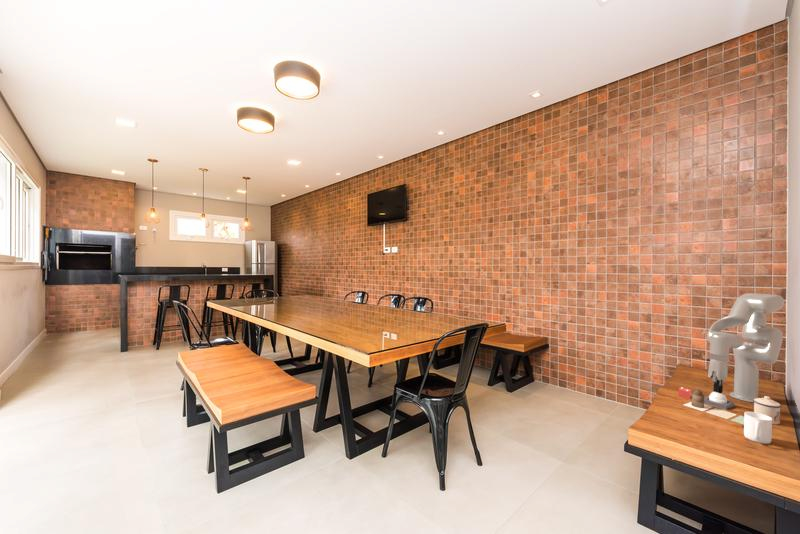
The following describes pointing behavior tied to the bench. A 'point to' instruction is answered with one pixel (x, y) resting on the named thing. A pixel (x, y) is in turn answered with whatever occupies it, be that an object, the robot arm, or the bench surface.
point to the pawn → (697, 399)
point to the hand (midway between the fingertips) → (717, 391)
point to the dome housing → (723, 406)
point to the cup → (758, 427)
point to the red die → (684, 392)
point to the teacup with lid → (768, 408)
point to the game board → (719, 413)
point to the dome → (718, 397)
